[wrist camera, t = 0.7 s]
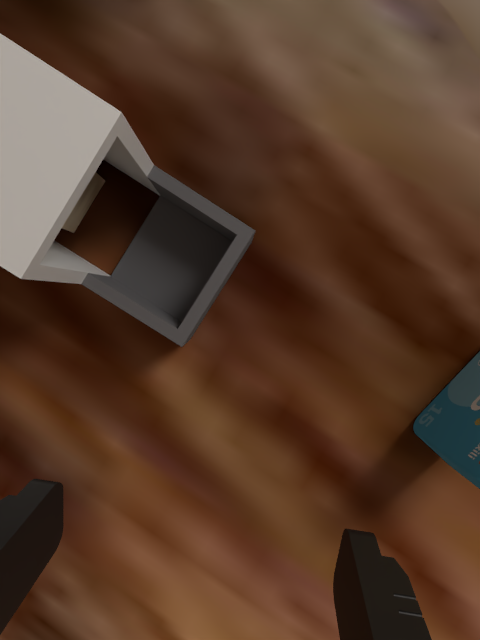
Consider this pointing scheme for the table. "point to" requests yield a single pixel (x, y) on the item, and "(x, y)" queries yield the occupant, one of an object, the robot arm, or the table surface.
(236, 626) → the table surface
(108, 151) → the tunnel
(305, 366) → the table surface
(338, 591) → the robot arm
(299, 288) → the table surface
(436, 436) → the data package
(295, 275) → the table surface
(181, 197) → the grey open box
